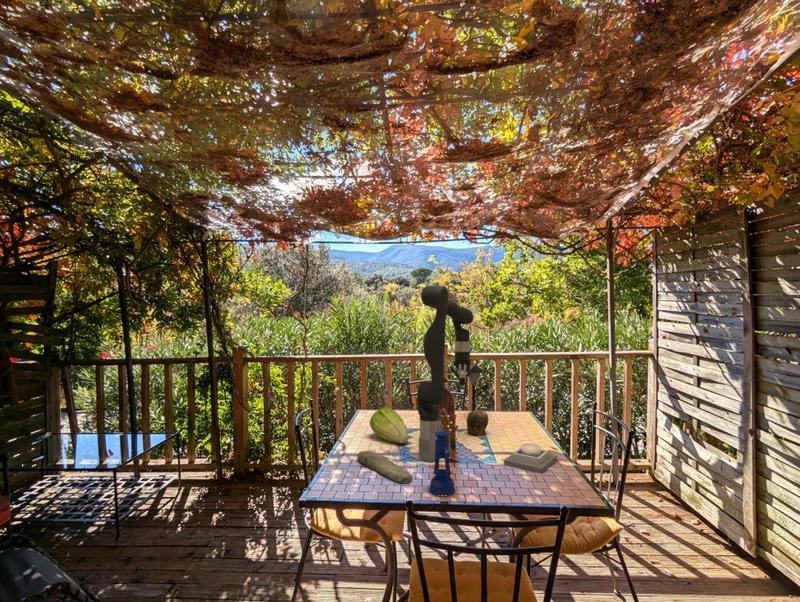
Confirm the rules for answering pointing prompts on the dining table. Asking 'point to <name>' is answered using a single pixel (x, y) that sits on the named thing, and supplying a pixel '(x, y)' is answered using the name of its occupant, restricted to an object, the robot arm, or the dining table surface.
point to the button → (531, 450)
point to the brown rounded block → (477, 422)
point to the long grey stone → (384, 466)
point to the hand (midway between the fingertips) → (462, 385)
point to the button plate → (531, 461)
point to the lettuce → (389, 425)
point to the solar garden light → (474, 382)
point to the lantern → (442, 480)
